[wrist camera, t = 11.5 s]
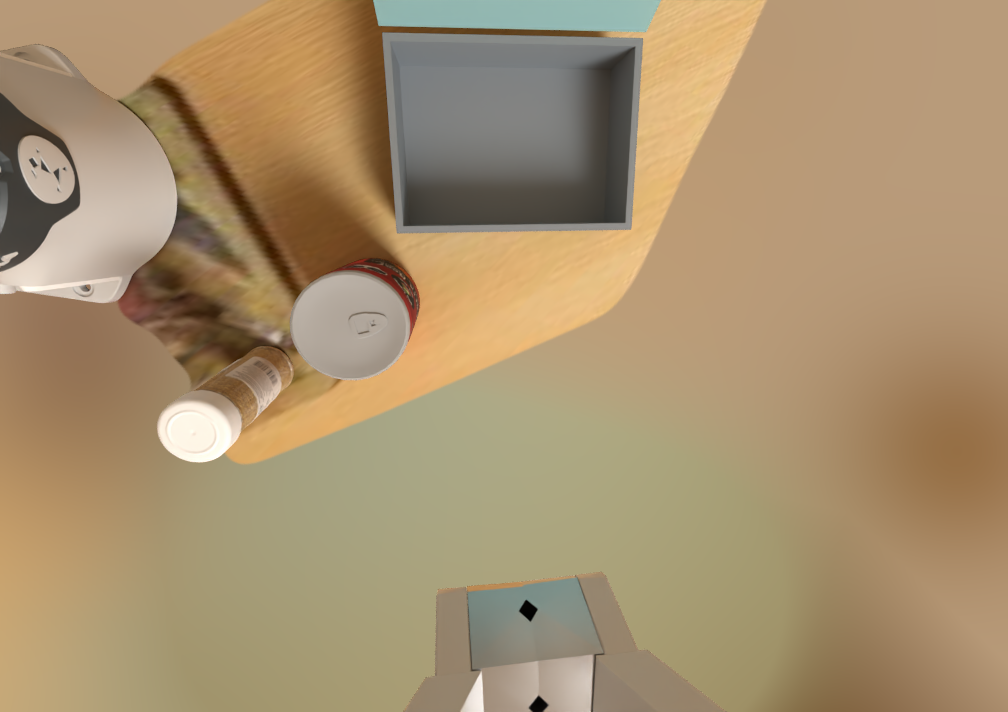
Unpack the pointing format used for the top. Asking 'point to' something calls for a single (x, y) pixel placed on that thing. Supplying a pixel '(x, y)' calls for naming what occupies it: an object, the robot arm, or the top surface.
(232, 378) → the sprinkles bottle
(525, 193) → the box
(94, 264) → the robot arm
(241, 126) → the top surface
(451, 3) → the mailer lid
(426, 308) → the top surface
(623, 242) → the top surface
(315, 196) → the top surface
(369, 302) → the canned food
